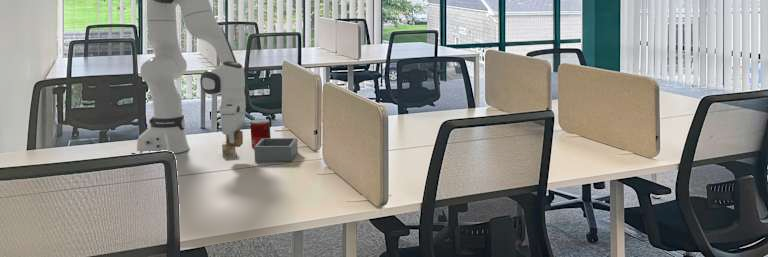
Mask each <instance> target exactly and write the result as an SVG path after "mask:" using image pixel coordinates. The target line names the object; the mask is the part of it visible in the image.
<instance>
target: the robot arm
mask: <svg viewBox="0 0 768 257" xmlns="http://www.w3.org/2000/svg"><path fill="white" fill-rule="evenodd" d="M177 6H180V9H181V13H182V17H183V21H184V22H183V23H184V24H185V25H184V26H185V28H186V31H188V33H189V34H190V35H191V36H193V38H196V39H198V40H201V41H204V42H206V43H208V44H210V45H211V46H212V47H213V48H214V49H215V52H216V55H217V57H218V60H219V63H220V65H219V66H217V67H215V68H211V69H208V70H205V71H203V73H202V74H201V76H200V78H199V79H200V83H199V84H200V88H201V89H202V91H203V92H204V93H206V94H207V95H212V96H213V95H221V97H220V98H221V103H220V106H219V108H218V113H219V114H220V127H221V132H222V134H223V135H226V134H227V135H228V136H229V142H230V143H234V142H235V138H234V132H235V131H241V127H243V125H245V124H246V113H245V112H246V107H247V106H246V95H245V87H246V78H245V76H246V75H245V70H244V67H243V65H242V64H241V63H240V62H238V61H237V60H236V57H235V54H234V52H233V49H232V47H231V44H230V41H229V39H228V36H227V35H226V33H225V31H224V29H223V28H222V27H221V26H220V25H219V24H218V22H217V19H216V18H215V15H214V12H213V9H212V5H211V2H210V0H147V5H146V24H147V25H146V26H147V27H146V28H147V39H148V41H149V43H150V45H151V46H152V49H153V51H154V56H153V57H150V58H147V60H146V61H144V62H143V63H142V65H141V67H140V76H141V78H142V80H143V81H144V82H145V83H146V84H147V87H148V89H149V92H150V95H151V100H152V106H153V108H152V109H153V116H152V117H151V118H150V119H149V120H148V124H150V126H149V127H148V128H147V129H146V130H144V131H143V133H141V134H140V135H139V136H138V137H137V142H136V147H134V148H133V149H132V150H136V151H140V153H142V152H143V151H149V152H150V151H161V150H168V151H172V152H174V153H175V154H179V153H184V152H187V151H188V150H190V146H189V143H188V141H187V135H186V131H185V128H186V122H185V117H184V114H183V104H182V103H183V102H182V96H181V95H180V93H179V92H178V90H177V87H176V84H175V80H178V79H179V78H181V77H182V76H183V75H184V74H185V73H186V72H187V69H188V68H187V66H188V65H187V64H188V63H187V60H186V59H185V58H184V56H183V54H182V51H181V48H180V45H179V39H178V30H177V29H178V28H177V27H178V26H177V13H176V10H177Z"/></svg>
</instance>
